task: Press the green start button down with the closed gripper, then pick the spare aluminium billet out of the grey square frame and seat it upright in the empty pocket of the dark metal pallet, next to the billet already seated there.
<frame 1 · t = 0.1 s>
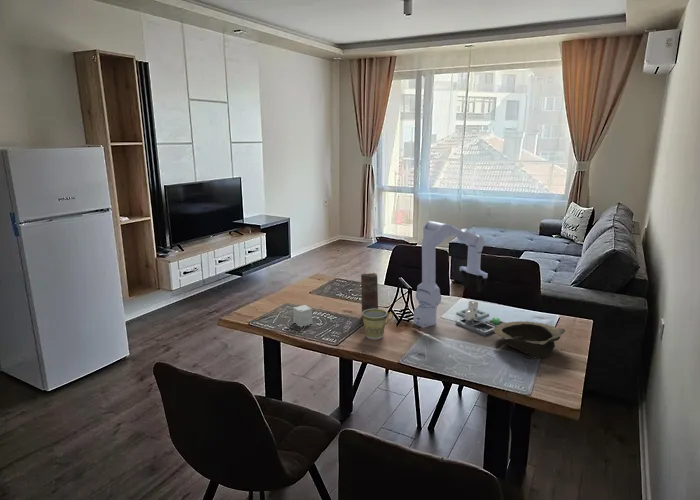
hand: (472, 289, 208), 10 cm above the table, tool pointing down, fingers open, 7 cm apart
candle: (369, 316, 205), on the table
grey square frame: (472, 316, 203), on the table
start button: (495, 321, 192), point 2 cm above the table, slide at 0.0 cm
stone bowl: (525, 348, 173), on the table
ceramic cup: (378, 336, 185), on the table
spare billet: (472, 315, 203), point 1 cm above the table, touching grey square frame
skincare box: (303, 324, 197), on the table
pallet: (475, 329, 189), on the table
button housing: (495, 326, 192), on the table
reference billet: (469, 324, 192), point 1 cm above the table, touching pallet
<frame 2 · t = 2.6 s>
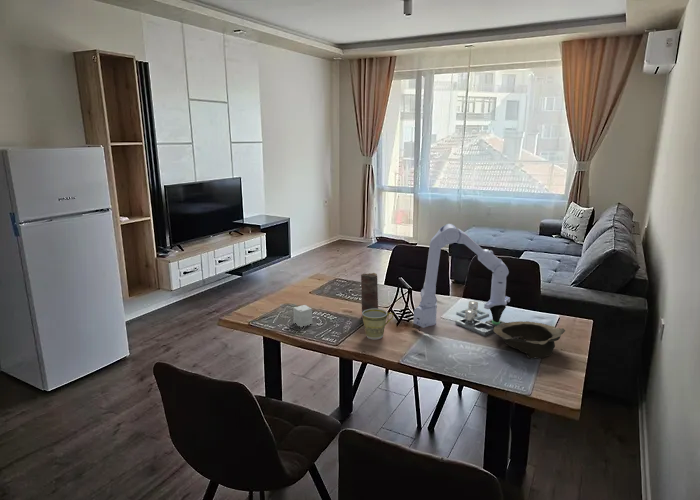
hand: (496, 321, 192), 2 cm above the table, tool pointing down, fingers closed, pressing on start button
start button: (495, 323, 192), point 1 cm above the table, slide at 1.0 cm, touching gripper
everything else where it was.
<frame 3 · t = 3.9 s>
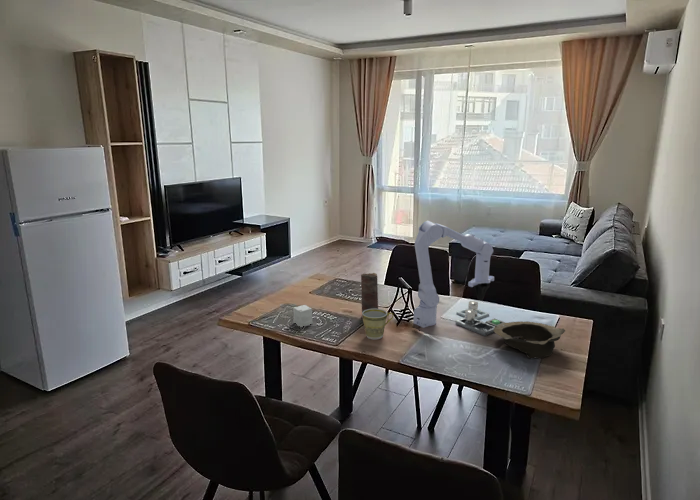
hand: (480, 299, 198), 9 cm above the table, tool pointing down, fingers closed
start button: (495, 323, 192), point 1 cm above the table, slide at 1.0 cm
everything else where it was.
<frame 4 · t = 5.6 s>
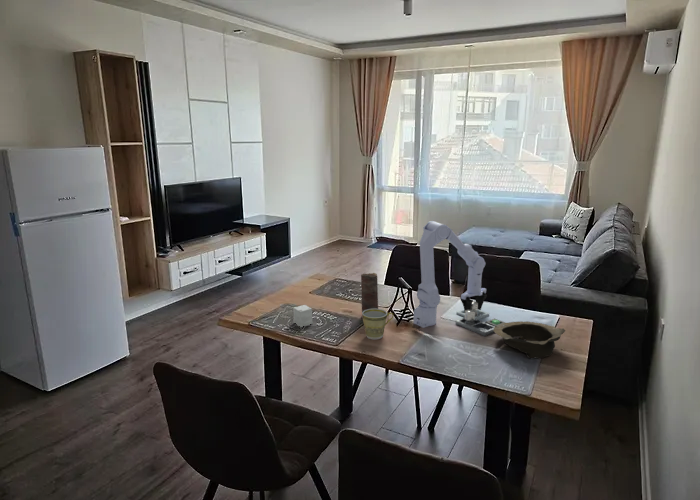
hand: (472, 311, 202), 3 cm above the table, tool pointing down, fingers open, 7 cm apart
nothing on the table moved.
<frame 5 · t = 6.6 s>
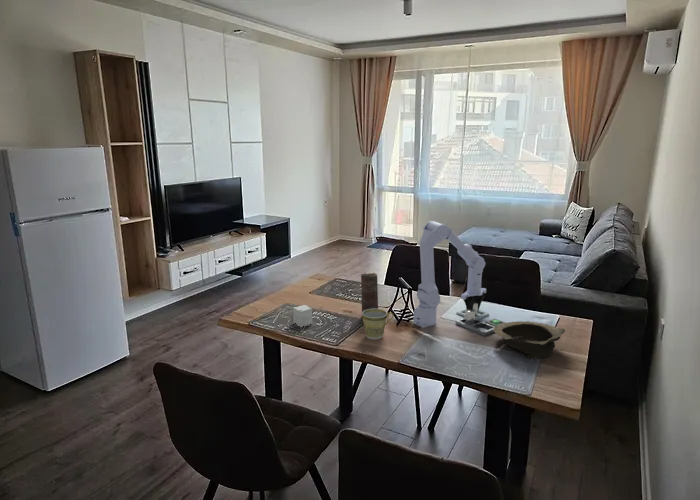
hand: (472, 311, 202), 3 cm above the table, tool pointing down, fingers closed on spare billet, 4 cm apart
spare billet: (472, 315, 203), point 1 cm above the table, touching gripper, grey square frame
everything else where it was.
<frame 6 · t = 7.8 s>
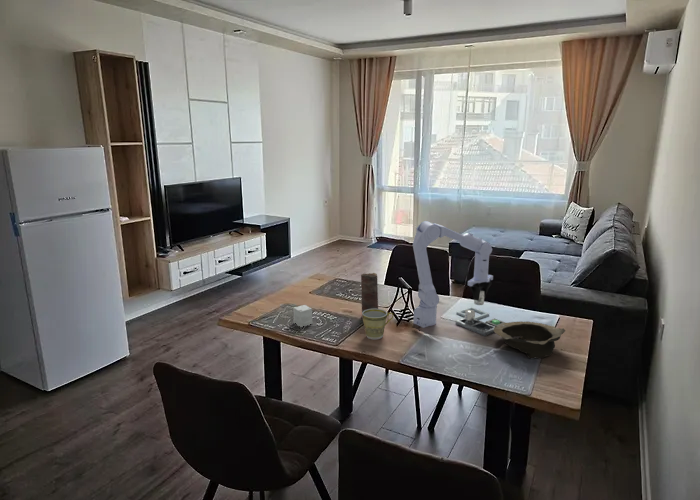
hand: (479, 298, 197), 10 cm above the table, tool pointing down, fingers closed on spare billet, 4 cm apart
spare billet: (478, 303, 198), point 8 cm above the table, touching gripper
everything else where it was.
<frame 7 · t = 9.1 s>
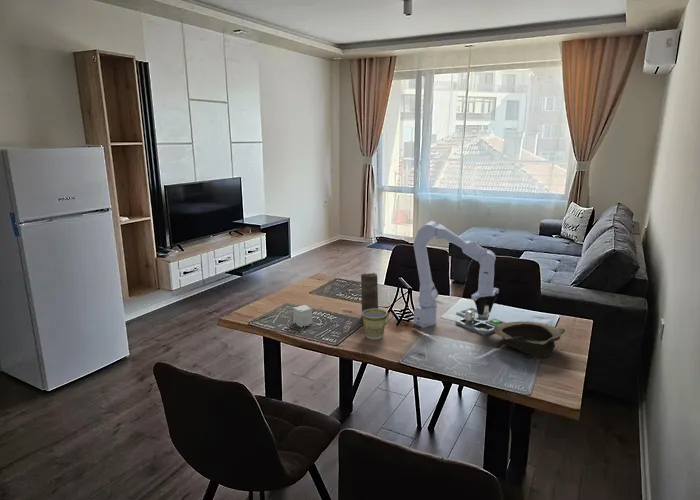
hand: (484, 313, 185), 8 cm above the table, tool pointing down, fingers closed on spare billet, 4 cm apart
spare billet: (483, 318, 186), point 6 cm above the table, touching gripper
everything else where it was.
when the fingers open (4 cm above the table, at t = 10.3 s): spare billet stays where it is, resting on pallet.
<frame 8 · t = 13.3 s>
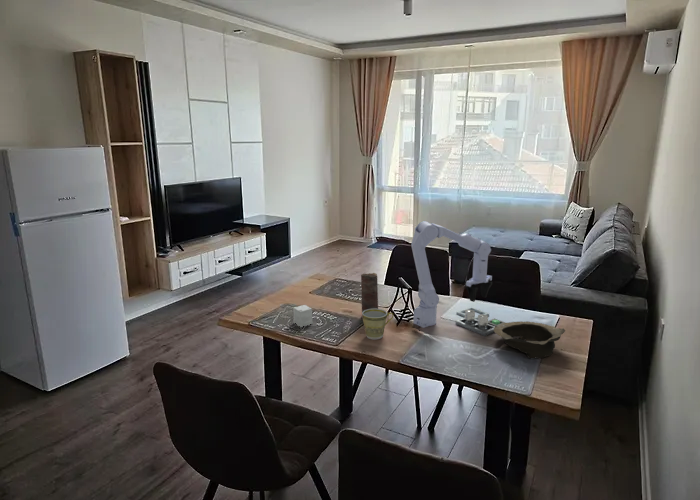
hand: (478, 299, 196), 10 cm above the table, tool pointing down, fingers open, 7 cm apart
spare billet: (482, 329, 187), point 1 cm above the table, touching pallet
everything else where it was.
at the end: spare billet 0.3 cm from the target spot on the pallet, point 1.0 cm above the pallet's base; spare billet tilted 0°; start button slide at 1.0 cm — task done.
